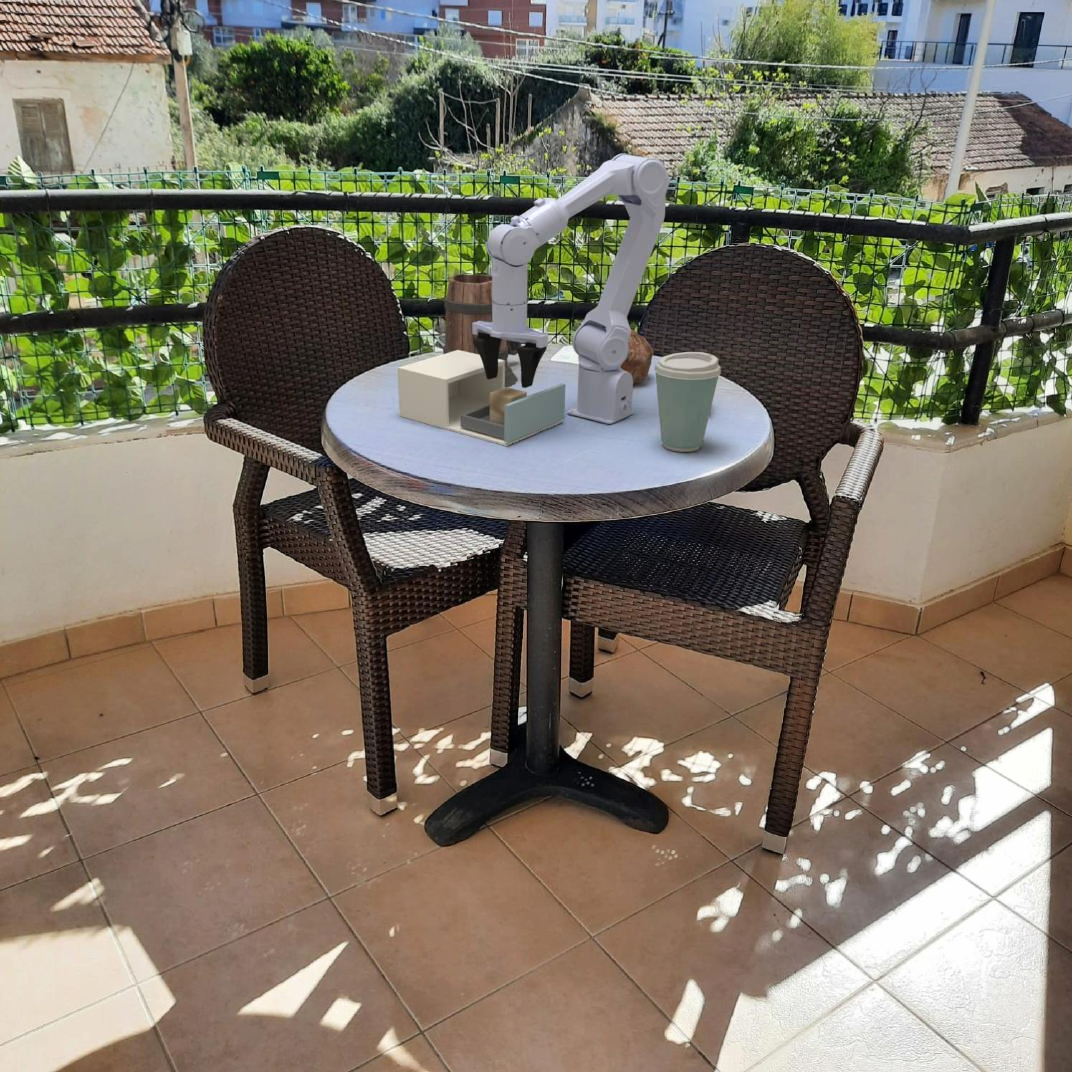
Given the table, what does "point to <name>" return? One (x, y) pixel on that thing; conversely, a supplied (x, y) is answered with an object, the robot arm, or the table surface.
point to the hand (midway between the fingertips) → (509, 382)
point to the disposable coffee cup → (685, 398)
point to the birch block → (503, 402)
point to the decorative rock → (638, 357)
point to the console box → (449, 391)
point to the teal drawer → (520, 415)
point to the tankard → (472, 317)
